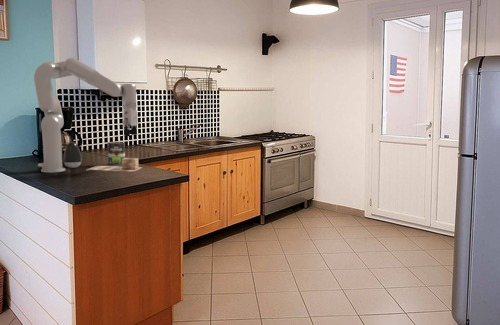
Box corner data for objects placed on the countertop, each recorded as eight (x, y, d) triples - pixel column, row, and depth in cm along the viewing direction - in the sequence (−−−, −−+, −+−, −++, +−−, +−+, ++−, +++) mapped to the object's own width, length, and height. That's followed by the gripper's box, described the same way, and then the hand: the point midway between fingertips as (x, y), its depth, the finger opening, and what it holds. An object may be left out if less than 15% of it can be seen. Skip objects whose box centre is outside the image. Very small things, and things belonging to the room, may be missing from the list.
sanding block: (121, 169, 256) (121, 159, 255) (125, 168, 261) (125, 157, 260) (135, 169, 255) (135, 159, 254) (138, 168, 260) (138, 158, 259)
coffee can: (125, 166, 275) (124, 143, 273) (107, 166, 272) (107, 143, 270) (125, 164, 285) (124, 141, 283) (108, 164, 282) (107, 142, 280)
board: (86, 171, 253) (86, 169, 253) (97, 167, 268) (97, 165, 268) (134, 173, 250) (133, 171, 250) (143, 169, 265) (143, 167, 265)
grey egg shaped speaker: (63, 166, 271) (62, 141, 269) (81, 165, 274) (81, 140, 272) (62, 168, 261) (61, 142, 259) (81, 168, 265) (81, 142, 263)
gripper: (129, 105, 247) (130, 136, 249) (141, 105, 264) (142, 134, 266) (116, 105, 248) (117, 136, 250) (129, 105, 265) (130, 134, 267)
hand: (130, 135), depth 258 cm, fingers open, 9 cm apart
